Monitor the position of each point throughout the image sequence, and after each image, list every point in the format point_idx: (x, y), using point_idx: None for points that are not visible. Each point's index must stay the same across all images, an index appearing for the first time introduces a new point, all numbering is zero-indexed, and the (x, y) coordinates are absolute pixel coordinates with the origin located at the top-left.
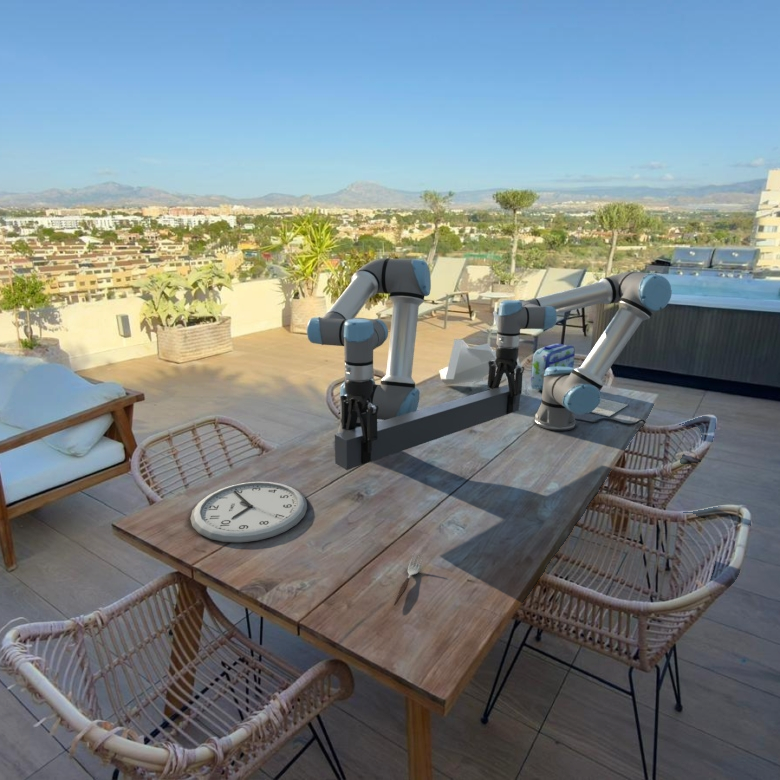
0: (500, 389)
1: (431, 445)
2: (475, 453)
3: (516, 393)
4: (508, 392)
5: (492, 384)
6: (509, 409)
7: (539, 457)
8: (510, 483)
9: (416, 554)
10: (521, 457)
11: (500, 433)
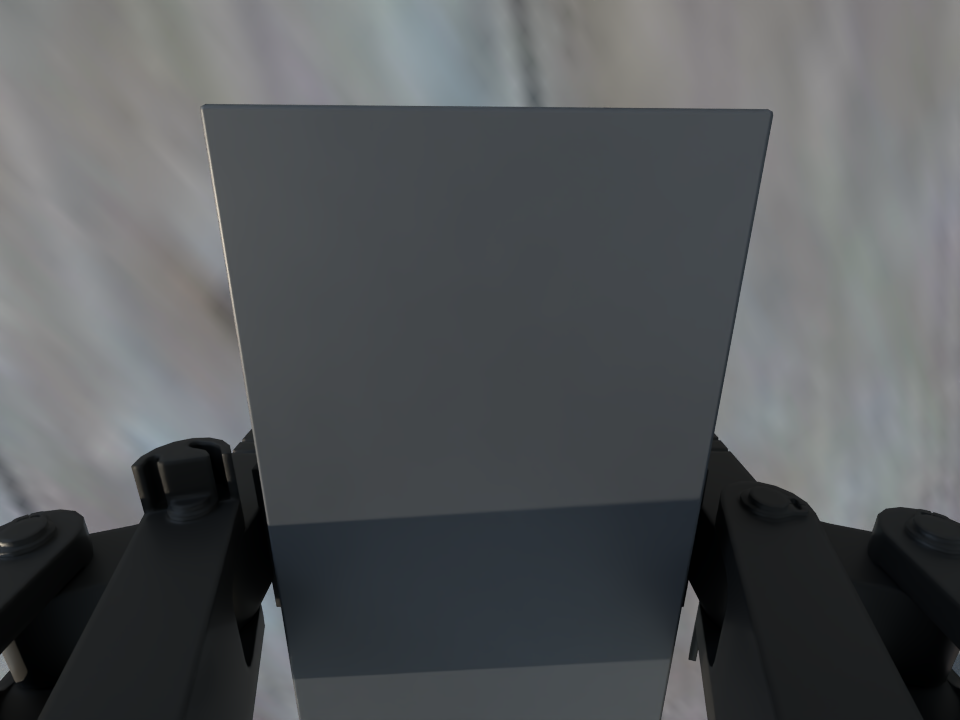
0: (447, 694)
1: (286, 640)
2: None
3: (910, 687)
4: (661, 650)
5: (57, 627)
6: None
7: (831, 326)
8: None
9: None
10: (737, 411)
11: None
